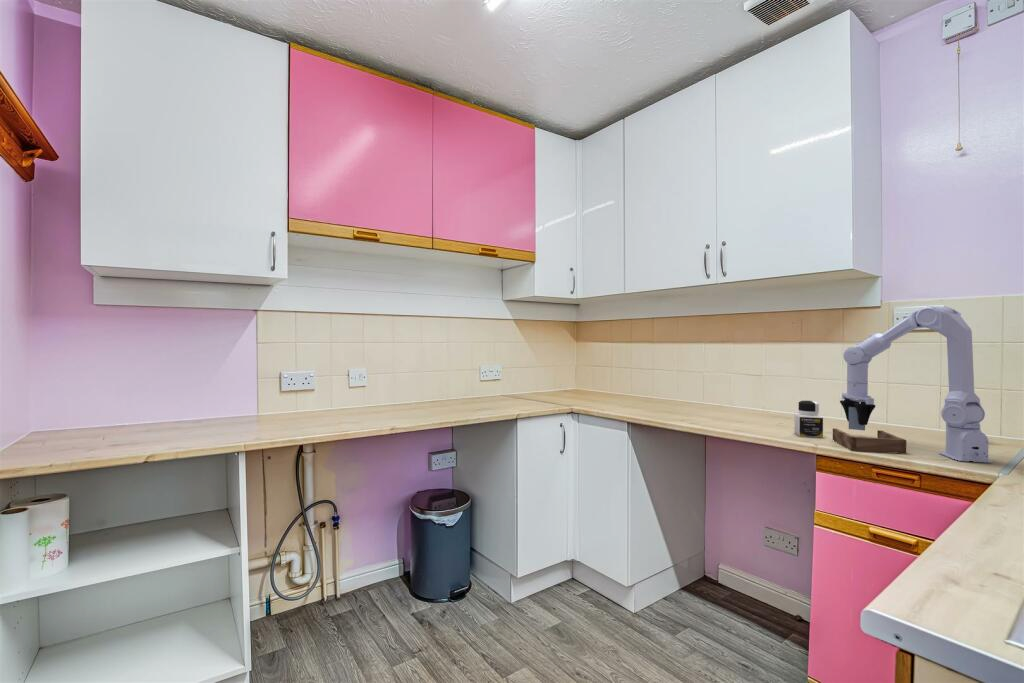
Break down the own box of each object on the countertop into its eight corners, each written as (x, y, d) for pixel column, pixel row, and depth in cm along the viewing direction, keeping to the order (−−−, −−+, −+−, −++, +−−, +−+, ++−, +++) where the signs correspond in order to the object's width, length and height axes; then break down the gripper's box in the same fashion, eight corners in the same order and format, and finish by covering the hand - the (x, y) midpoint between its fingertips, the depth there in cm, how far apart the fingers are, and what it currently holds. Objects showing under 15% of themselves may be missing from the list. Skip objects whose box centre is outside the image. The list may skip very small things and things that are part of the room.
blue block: (865, 430, 161) (865, 409, 161) (848, 429, 164) (848, 408, 164) (864, 428, 165) (865, 407, 165) (848, 427, 167) (849, 406, 167)
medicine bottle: (799, 436, 168) (799, 401, 167) (794, 432, 174) (794, 399, 174) (823, 438, 165) (823, 402, 165) (816, 434, 172) (817, 400, 172)
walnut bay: (906, 453, 143) (906, 440, 143) (851, 450, 147) (851, 437, 147) (881, 442, 158) (881, 430, 158) (832, 440, 161) (832, 428, 161)
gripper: (884, 385, 156) (883, 427, 157) (856, 380, 171) (856, 419, 171) (860, 384, 157) (860, 426, 157) (835, 380, 172) (835, 419, 172)
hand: (856, 423), depth 164 cm, fingers closed on blue block, 6 cm apart
